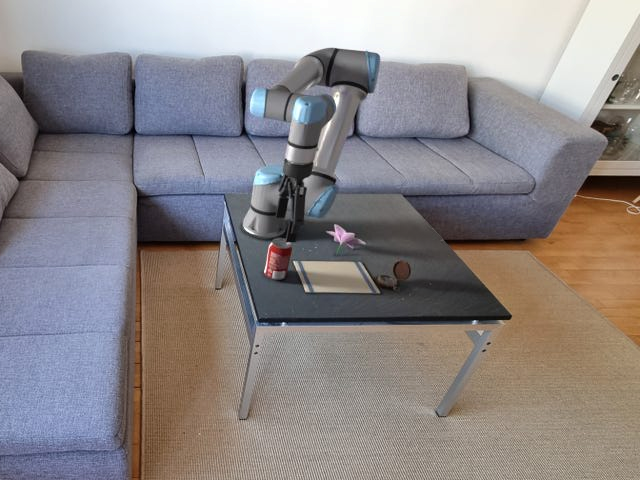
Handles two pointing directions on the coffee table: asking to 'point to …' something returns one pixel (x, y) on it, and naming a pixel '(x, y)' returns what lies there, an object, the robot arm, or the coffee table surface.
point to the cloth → (335, 277)
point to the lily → (344, 237)
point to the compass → (395, 275)
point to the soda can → (278, 259)
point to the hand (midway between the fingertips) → (285, 229)
